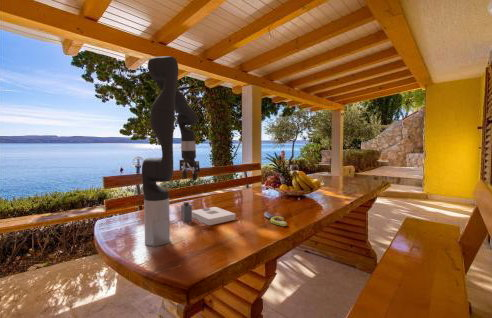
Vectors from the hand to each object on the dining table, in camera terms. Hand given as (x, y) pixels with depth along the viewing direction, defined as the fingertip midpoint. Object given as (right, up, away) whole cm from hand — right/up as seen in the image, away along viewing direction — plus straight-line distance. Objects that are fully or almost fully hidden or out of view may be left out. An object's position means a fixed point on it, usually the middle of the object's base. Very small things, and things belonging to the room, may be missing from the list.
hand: (189, 179), depth 129 cm
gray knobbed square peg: (0, -21, -7) cm, 22 cm away
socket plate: (+13, -21, -2) cm, 24 cm away
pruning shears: (+45, -21, -5) cm, 50 cm away
